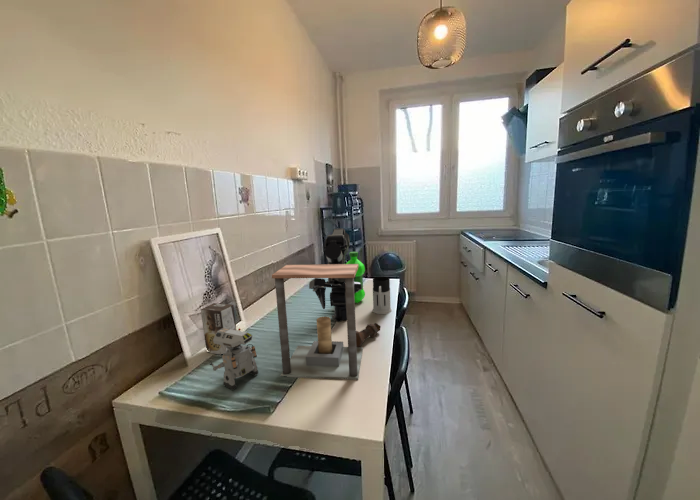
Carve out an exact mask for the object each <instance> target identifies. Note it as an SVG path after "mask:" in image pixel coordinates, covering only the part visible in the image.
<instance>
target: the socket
mask: <svg viewBox="0 0 700 500" xmlns="http://www.w3.org/2000/svg"><path fill="white" fill-rule="evenodd" d="M310 346H311V348H310V350H309V352H308V354H307V356H306V365H310V366H339V364H340V361H341V357H342V354H343V350H344V347H345V346H344V341H336V340H335V341H332V352H334V353H333V354H318V353H319V350H318V340H313V341H312V344H311V345H310Z"/></svg>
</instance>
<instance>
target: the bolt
mask: <svg viewBox="0 0 700 500" xmlns="http://www.w3.org/2000/svg"><path fill="white" fill-rule="evenodd" d="M380 331H381V325H380V324H378V323H376V322H375V323H368V324H367V325H366V326H365V328H363V329H362V330H360V331H358V330H356V347H363V344H364V342H365V340H366V339H368V338H375V337H376V336H377V334H378V332H380Z"/></svg>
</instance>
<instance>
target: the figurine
mask: <svg viewBox="0 0 700 500" xmlns="http://www.w3.org/2000/svg"><path fill="white" fill-rule="evenodd" d="M252 340H253V335H252V334H251V333H249V332H246V331H241V328H238V330H237V329H236V330H232V329H227V328H222V329H220V330H218V331H217V333H216V335H215V337H214V339H213V342H214V344H219V345H223V346H228V347H227V348H228V350H227V351H226V352H224V353H223V355H221V358H222V362H220V363H219V364H217V365H215V364H214V363H213V362H212V361H211V360H210V361H209V366H211V367H212V370H213V372H215V371H217V370H219V369H222V368H224V372H223V386H224V387H225V386H226V389H229V390H231V389H232V390H231V391H233V390H235V389H236V388H238V387H237V384H236V382H235V381H236V380H235V379H237V378H241V377H244V376H245V375H247V374H251V375H252V374H253V375H252V376H254V375H255V376H257V375H259V370H258V365H257V362H256V358H257V357H258V355H257V352H256V347H255V345H253V344H250V342H251V341H252ZM246 344H247V345H246Z"/></svg>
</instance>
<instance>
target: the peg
mask: <svg viewBox="0 0 700 500" xmlns="http://www.w3.org/2000/svg"><path fill="white" fill-rule="evenodd" d="M316 331H317V341H318V350H319V354H332V321H331V317H329V316H320V317H317V318H316Z"/></svg>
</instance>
